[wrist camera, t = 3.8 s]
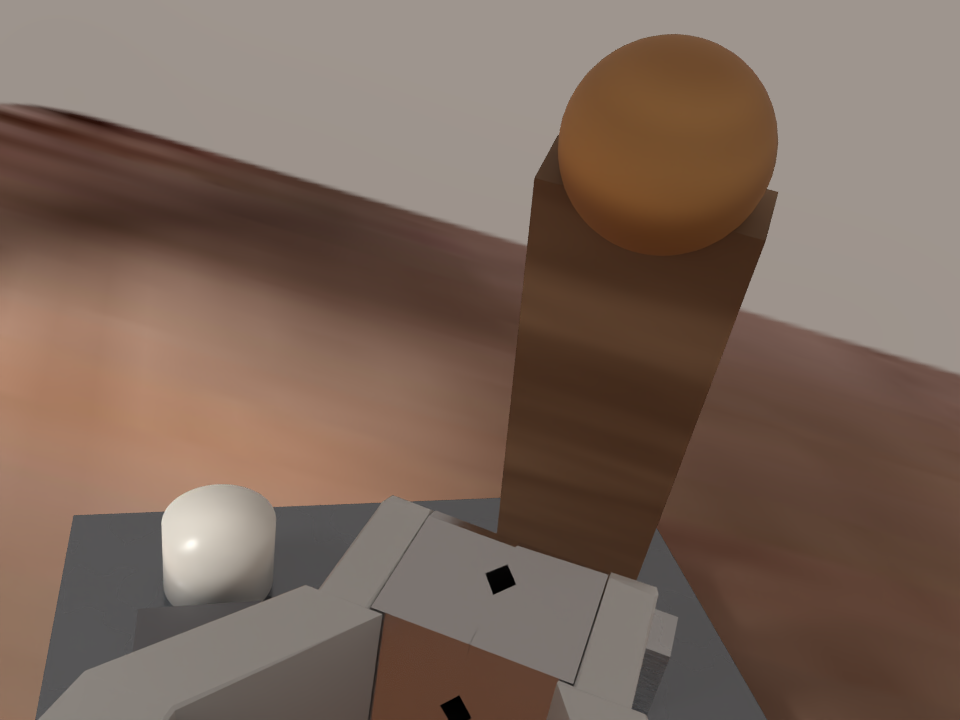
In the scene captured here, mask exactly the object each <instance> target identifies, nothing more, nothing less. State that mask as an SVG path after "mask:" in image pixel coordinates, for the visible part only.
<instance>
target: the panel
mask: <svg viewBox="0 0 960 720" xmlns="http://www.w3.org/2000/svg"><path fill="white" fill-rule="evenodd" d="M500 499H501V498H487V499H462V500H438V501H414V502H412V503H415V504H417V505H420V506H423V507H425V508H428V509H431V510H432V511H435V510H436V511H439V512H441V513H444V514H447V515H449V516H452V517H454V518H457V519H460V520H462V521H465V522H468V523H470V524H473V525H476V526H478V527H481V528H484V529H486V530H489V531H492V532H494V533H497V527H498V518H499V509H500ZM380 504H381V503H365V504H341V505H316V506H292V507H273V508H274V511H275V514H276V532H275V550H274V569H273V583H272V587H271V589H270V592H269V593H268V595H267V597H266V598H265V599H264V600H263V601H266V600H268V599H271V598H273V597H276V596H278V595H281V594H284V593H286V592H289V591H291V590H294V589H296V588H299V587H302V586H304V585H307V586H310V587H313V588H315V589H319V588H320V587H321V585H322V584H323V582H324V581H325V580H326V578H327V577H328V576H329V574H330V573H331V571H332V570H333V569H334V567H335V566H336V565H337V563H338V562H339V560H340V559H341V558H342V556H343V555H344V554H345V552H346V551H347V550H348V548H349V547H350V545H351V544H352V543H353V541H354V540H355V539H356V537H357V536H358V534H359V533H360V532H361V530H362V529H363V528H364V526H365V525H366V524H367V522H368V521H369V519H370V518H371V517H372V515H373V514H374V513H375V511H376V510H377V508H378V507H379V506H380ZM163 514H164V512H146V513H121V514H97V515H74V516H73V521H72V527H71V532H70V537H69V543H68V548H67V553H66V559H65V564H64V569H63V575H62V580H61V585H60V591H59V596H58V601H57V607H56V612H55V617H54V623H53V628H52V633H51V639H50V644H49V649H48V655H47V660H46V665H45V671H44V676H43V681H42V687H41V692H40V697H39V703H38V708H37V713H36V719H35V720H38V719H39V718H40V717H41V716H42V715H43V714H44V713H45V712H46V711H47V710H48V709H49V708H50V707H51V706H52V705H53V703H54V702H55V701H56V700H57V699H58V698H59V697H60V696H61V695H62V694H63V693H64V692H65V691H66V690H67V689H68V688H69V687H70V686H71V685H72V684H73V683H74V682H75V681H76V679H77V678H78V677H79V676H80V675H81V674H82V673H83V672H84V671H86V670H88V669H91V668H93V667H96V666H99V665H101V664H104V663H106V662H109V661H111V660H114V659H117V658H119V657H122V656H124V655H127V654H129V653H132V652H133V644H134V636H135V628H136V620H137V613H138V609H142V608H156V607H170V606H173V605H172V604H171V603H170V602H169V600H168V599H167V597H166V595H165V592H164V586H163V556H162V526H161V522H162V517H163ZM636 581H639V582H642V583H645V584H648V585H651V586H654V587H657V591H658V599H657V603H656V607H655V611H654V616H653V620H652V624H651V628H650V632H649V637H648V641H647V645H646V649H645V654H644V658H643V662H642V666H641V670H640V675H639V679H638V683H637V687H636V692H635V696H634V700H633V704H632V708H631V709H633V710H636V711H638V712H641V713H643V714H645V715H646V716H647V718H648V720H767V719H766V717H765V715H764V713H763V712H762V710H761V708H760V706H759V705H758V703H757V701H756V700H755V698H754V696H753V694H752V693H751V691H750V689H749V687H748V686H747V684H746V682H745V680H744V679H743V677H742V675H741V674H740V672H739V670H738V668H737V667H736V665H735V663H734V661H733V660H732V658H731V656H730V654H729V653H728V651H727V649H726V647H725V646H724V644H723V642H722V641H721V639H720V637H719V635H718V634H717V632H716V630H715V628H714V627H713V625H712V623H711V621H710V620H709V618H708V616H707V615H706V613H705V611H704V609H703V608H702V606H701V604H700V602H699V601H698V599H697V597H696V595H695V594H694V592H693V590H692V588H691V587H690V585H689V583H688V582H687V580H686V578H685V576H684V575H683V573H682V571H681V569H680V568H679V566H678V564H677V562H676V561H675V559H674V557H673V556H672V554H671V552H670V550H669V549H668V547H667V545H666V543H665V542H664V540H663V538H662V536H661V535H660V533H659V531H658V529H657V528H656V530H655V533H654V536H653V538H652V541H651V543H650V546H649V549H648V551H647V554H646V557H645V559H644V562H643V564H642V567H641V570H640V572H639V575H638V578H637V580H636ZM263 601H262V602H263Z"/></svg>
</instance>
